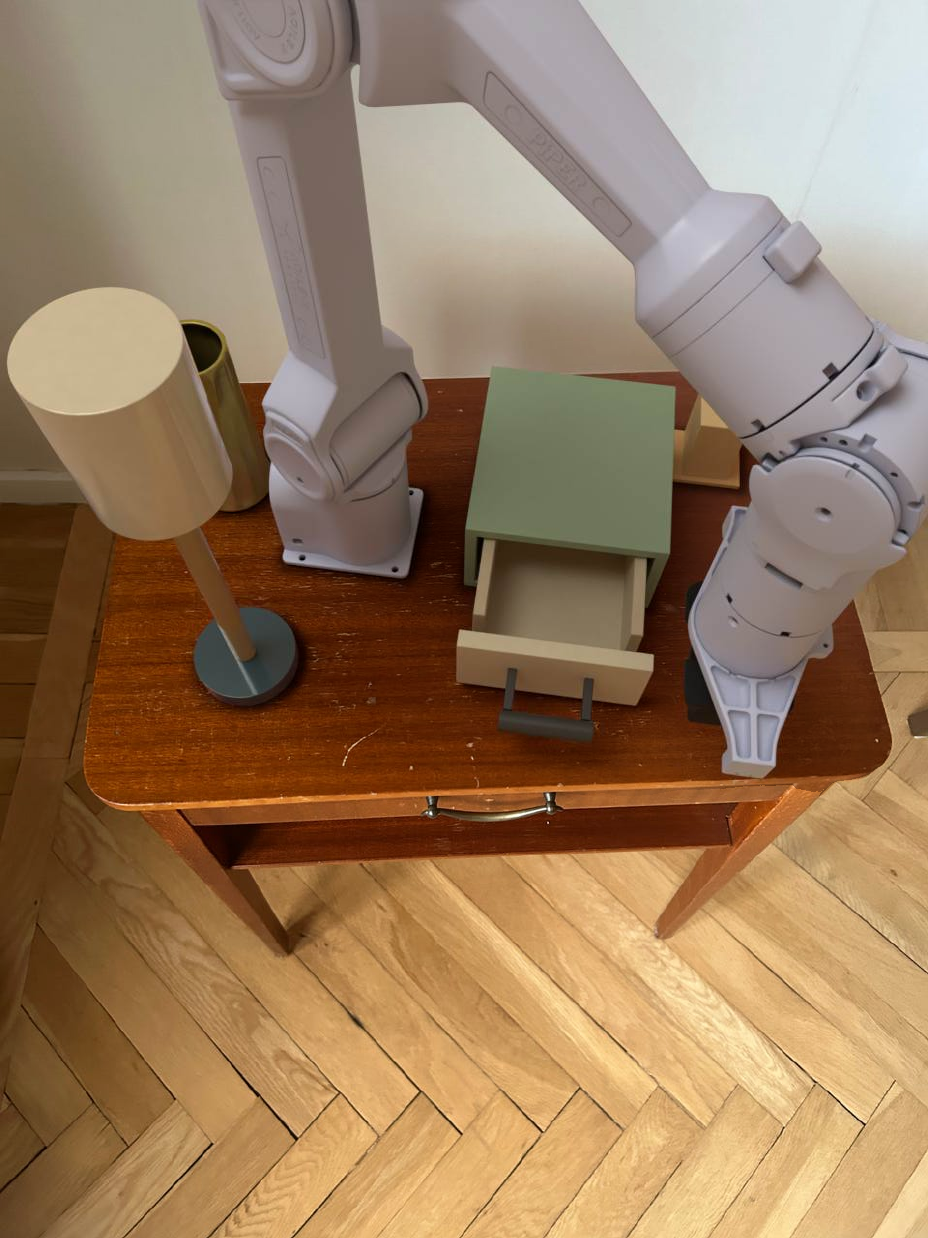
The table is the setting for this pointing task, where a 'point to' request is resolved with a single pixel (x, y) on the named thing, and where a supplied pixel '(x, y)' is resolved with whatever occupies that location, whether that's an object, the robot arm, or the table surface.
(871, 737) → the table surface
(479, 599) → the drawer
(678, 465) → the pad
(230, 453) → the vase
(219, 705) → the table surface
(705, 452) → the tan wooden block
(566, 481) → the cabinet
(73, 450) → the lamp
